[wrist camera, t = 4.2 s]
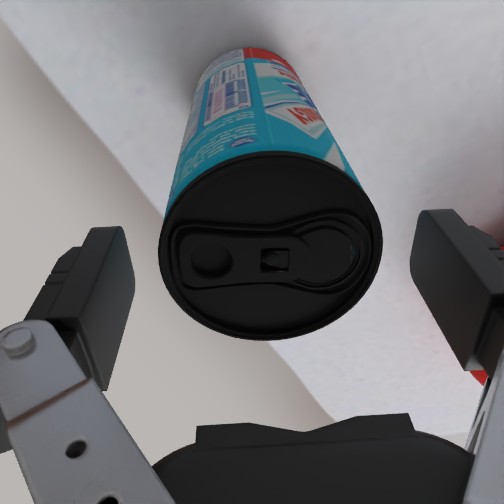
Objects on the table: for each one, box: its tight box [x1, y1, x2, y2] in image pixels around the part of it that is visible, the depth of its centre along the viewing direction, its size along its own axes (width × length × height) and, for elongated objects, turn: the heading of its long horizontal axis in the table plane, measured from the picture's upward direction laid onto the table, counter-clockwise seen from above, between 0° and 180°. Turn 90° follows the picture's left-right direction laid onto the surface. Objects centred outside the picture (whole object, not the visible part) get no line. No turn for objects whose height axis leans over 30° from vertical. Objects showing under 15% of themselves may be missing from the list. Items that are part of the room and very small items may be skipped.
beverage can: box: [158, 48, 383, 341], centre depth 18 cm, size 6×6×15 cm
